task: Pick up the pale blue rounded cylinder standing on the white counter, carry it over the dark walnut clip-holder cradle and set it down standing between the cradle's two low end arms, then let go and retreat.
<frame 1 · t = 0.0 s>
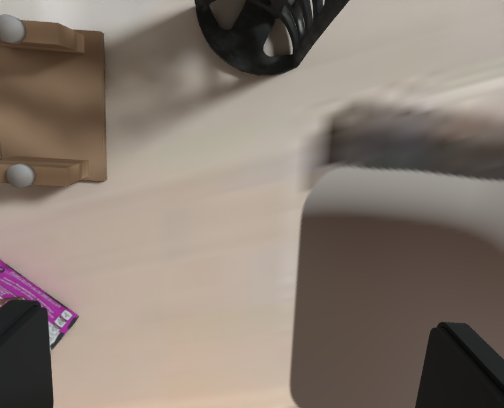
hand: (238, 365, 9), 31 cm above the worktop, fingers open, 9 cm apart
candy bar box: (28, 298, 43), on the worktop
cradle: (53, 106, 38), on the worktop
holder: (253, 22, 37), on the worktop
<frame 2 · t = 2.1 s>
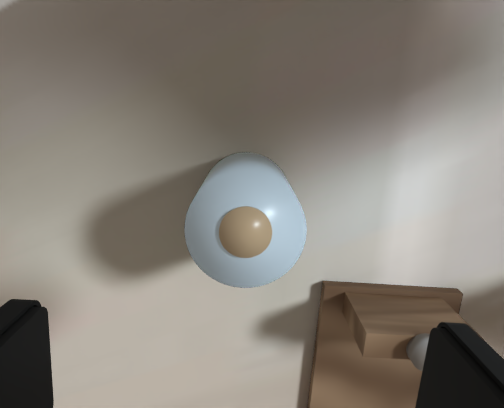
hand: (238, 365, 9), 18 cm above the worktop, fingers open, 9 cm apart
pale blue rounded cylinder: (246, 195, 27), on the worktop
cradle: (376, 367, 30), on the worktop
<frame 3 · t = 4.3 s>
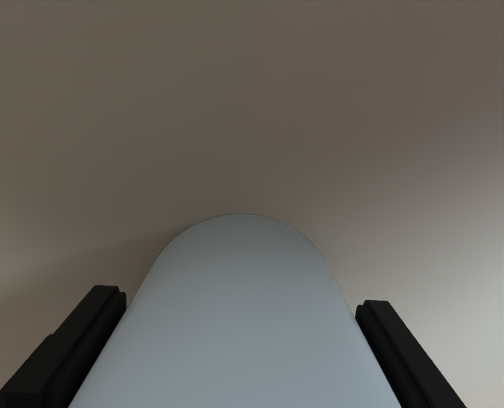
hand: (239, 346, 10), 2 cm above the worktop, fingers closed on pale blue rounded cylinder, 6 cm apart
pale blue rounded cylinder: (240, 306, 12), on the worktop, touching gripper
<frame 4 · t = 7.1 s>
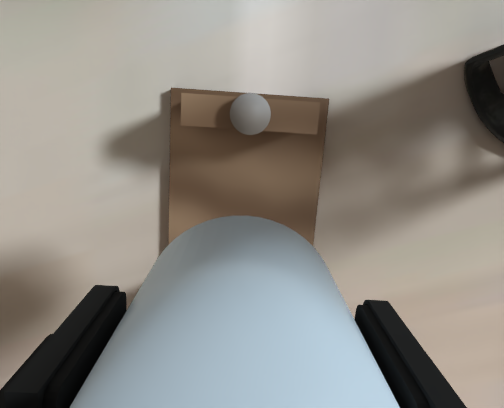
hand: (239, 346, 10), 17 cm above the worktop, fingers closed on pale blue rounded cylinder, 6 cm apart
pale blue rounded cylinder: (240, 307, 12), point 15 cm above the worktop, touching gripper
cradle: (243, 198, 27), on the worktop
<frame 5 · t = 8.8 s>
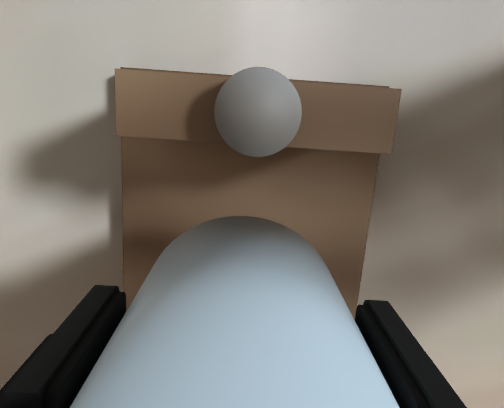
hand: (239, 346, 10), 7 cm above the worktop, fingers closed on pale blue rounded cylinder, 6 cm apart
pale blue rounded cylinder: (240, 307, 12), point 5 cm above the worktop, touching gripper
cradle: (244, 246, 17), on the worktop
when the fingers open (4 cm above the worktop, at t = 9.9 s): pale blue rounded cylinder drops 1 cm, resting on cradle.
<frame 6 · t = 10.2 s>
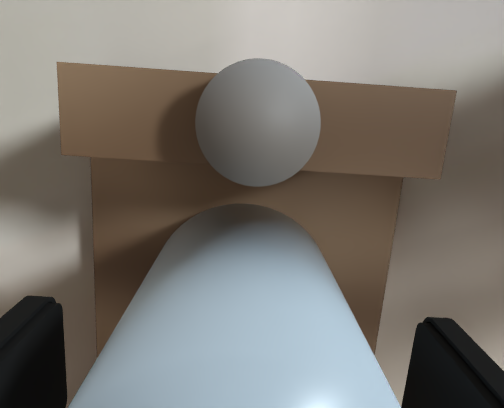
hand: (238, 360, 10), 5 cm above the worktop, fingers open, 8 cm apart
pale blue rounded cylinder: (241, 287, 13), point 1 cm above the worktop, touching cradle
cradle: (241, 278, 14), on the worktop
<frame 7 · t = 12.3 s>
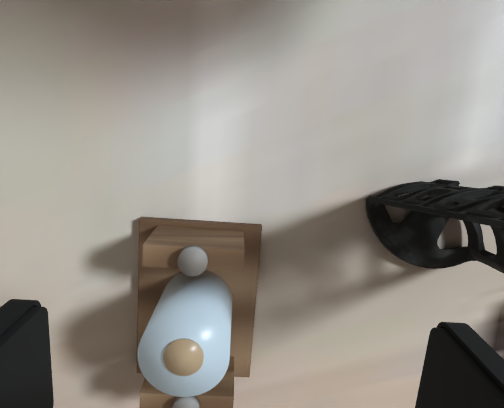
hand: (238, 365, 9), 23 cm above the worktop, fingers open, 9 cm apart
pale blue rounded cylinder: (197, 301, 33), point 1 cm above the worktop, touching cradle
cradle: (198, 298, 34), on the worktop
holder: (424, 211, 33), on the worktop
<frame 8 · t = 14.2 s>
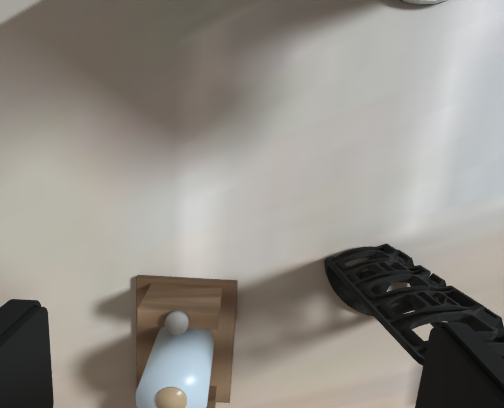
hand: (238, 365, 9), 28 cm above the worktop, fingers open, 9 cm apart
pale blue rounded cylinder: (185, 343, 40), point 1 cm above the worktop, touching cradle
cradle: (186, 338, 41), on the worktop
holder: (375, 269, 40), on the worktop
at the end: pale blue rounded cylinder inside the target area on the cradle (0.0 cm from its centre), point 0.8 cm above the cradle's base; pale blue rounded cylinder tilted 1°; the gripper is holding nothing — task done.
